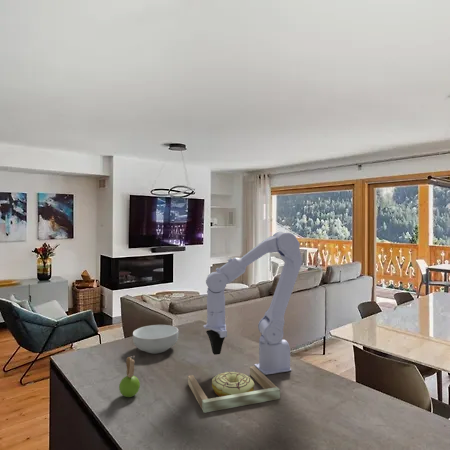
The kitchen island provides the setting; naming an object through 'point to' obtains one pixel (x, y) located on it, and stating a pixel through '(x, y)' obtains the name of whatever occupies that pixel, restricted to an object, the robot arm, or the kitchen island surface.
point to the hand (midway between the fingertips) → (216, 353)
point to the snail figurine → (129, 380)
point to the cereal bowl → (155, 338)
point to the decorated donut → (232, 383)
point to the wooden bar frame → (239, 399)
